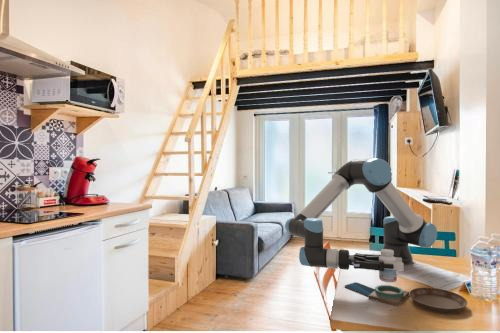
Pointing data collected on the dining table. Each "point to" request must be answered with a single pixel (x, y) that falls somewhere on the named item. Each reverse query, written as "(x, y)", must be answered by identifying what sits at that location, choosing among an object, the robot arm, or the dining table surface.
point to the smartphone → (360, 288)
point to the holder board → (389, 301)
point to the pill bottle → (387, 274)
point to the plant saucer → (438, 300)
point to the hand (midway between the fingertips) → (402, 264)
